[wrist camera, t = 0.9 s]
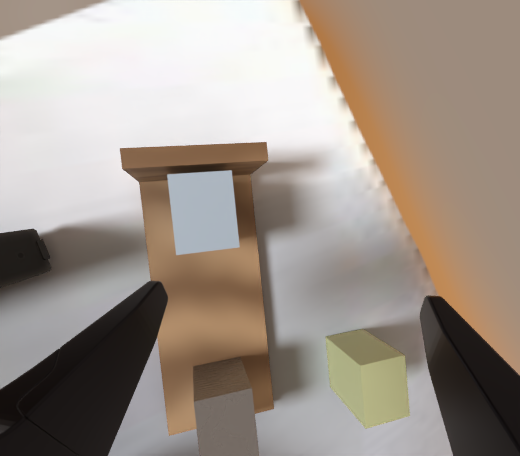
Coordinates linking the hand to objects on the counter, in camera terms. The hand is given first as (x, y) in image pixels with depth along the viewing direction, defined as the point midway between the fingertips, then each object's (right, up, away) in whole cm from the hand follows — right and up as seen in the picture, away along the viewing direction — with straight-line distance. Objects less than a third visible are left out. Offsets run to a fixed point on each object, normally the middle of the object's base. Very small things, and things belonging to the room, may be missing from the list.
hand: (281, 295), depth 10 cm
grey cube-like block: (-4, -12, +15) cm, 19 cm away
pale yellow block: (+8, -10, +19) cm, 23 cm away
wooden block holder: (-5, -3, +16) cm, 17 cm away
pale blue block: (-6, +3, +14) cm, 16 cm away
